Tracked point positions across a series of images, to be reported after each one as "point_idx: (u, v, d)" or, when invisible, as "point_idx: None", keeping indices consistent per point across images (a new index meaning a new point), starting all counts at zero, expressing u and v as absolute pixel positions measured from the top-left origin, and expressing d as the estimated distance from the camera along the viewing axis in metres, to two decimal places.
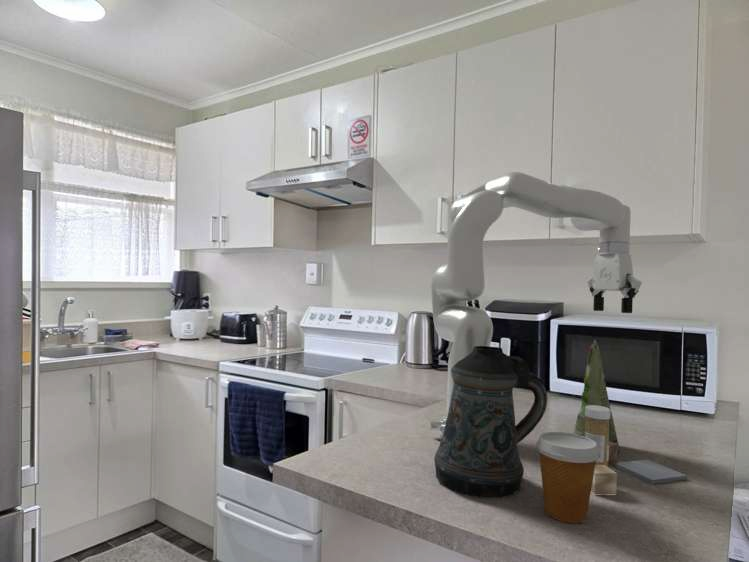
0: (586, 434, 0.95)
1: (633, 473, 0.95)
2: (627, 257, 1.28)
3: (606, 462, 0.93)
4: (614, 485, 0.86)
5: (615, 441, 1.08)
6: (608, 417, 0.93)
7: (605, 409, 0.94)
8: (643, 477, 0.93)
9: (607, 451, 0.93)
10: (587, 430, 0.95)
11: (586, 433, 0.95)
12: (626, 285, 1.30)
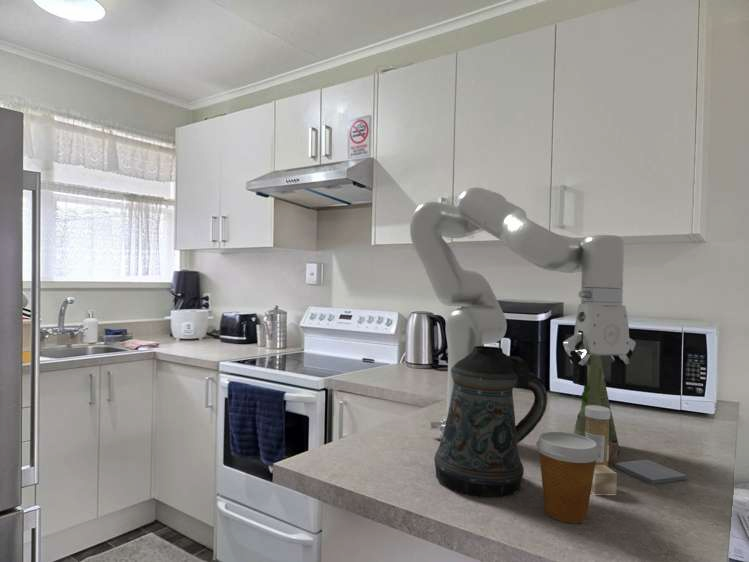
0: (586, 434, 0.95)
1: (633, 473, 0.95)
2: None
3: (606, 462, 0.93)
4: (614, 485, 0.86)
5: (615, 441, 1.08)
6: (608, 417, 0.93)
7: (605, 409, 0.94)
8: (643, 477, 0.93)
9: (607, 451, 0.93)
10: (587, 430, 0.95)
11: (586, 433, 0.95)
12: None
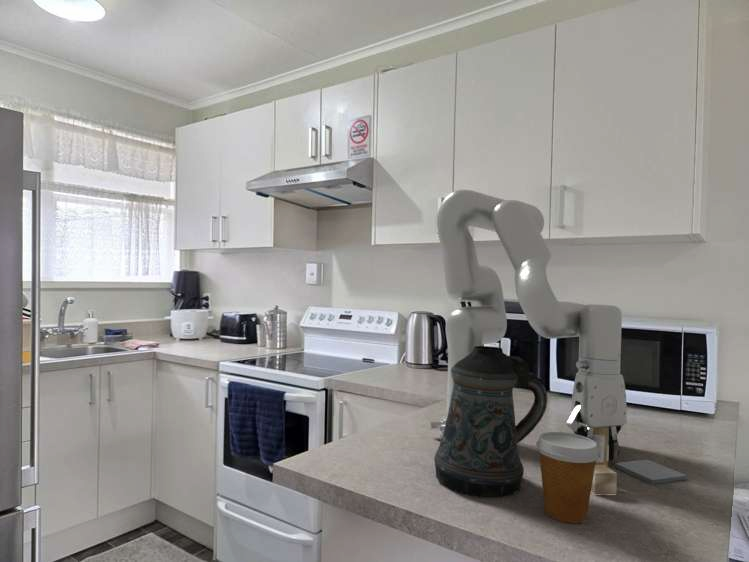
0: None
1: (633, 473, 0.95)
2: None
3: (606, 462, 0.93)
4: (614, 485, 0.86)
5: (615, 441, 1.08)
6: None
7: None
8: (643, 477, 0.93)
9: (607, 451, 0.93)
10: None
11: None
12: None
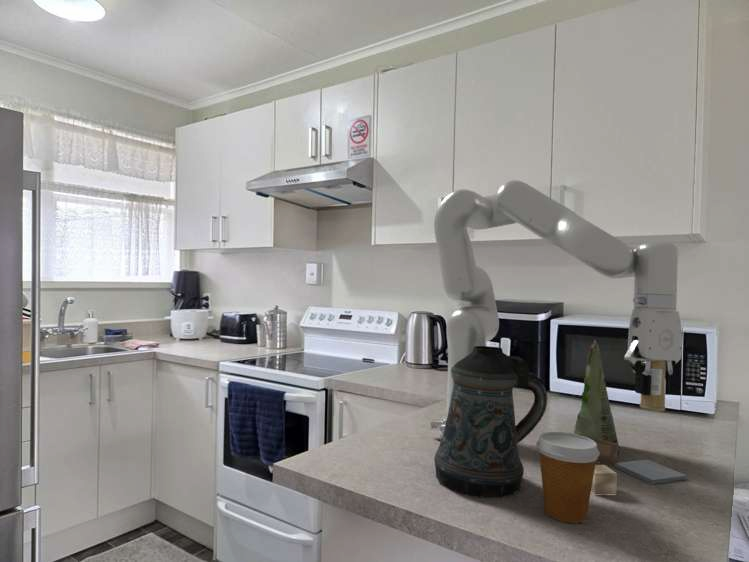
0: None
1: (633, 473, 0.95)
2: None
3: (663, 395, 0.95)
4: (614, 485, 0.86)
5: (615, 441, 1.08)
6: None
7: None
8: (643, 477, 0.93)
9: (664, 384, 0.96)
10: None
11: None
12: None
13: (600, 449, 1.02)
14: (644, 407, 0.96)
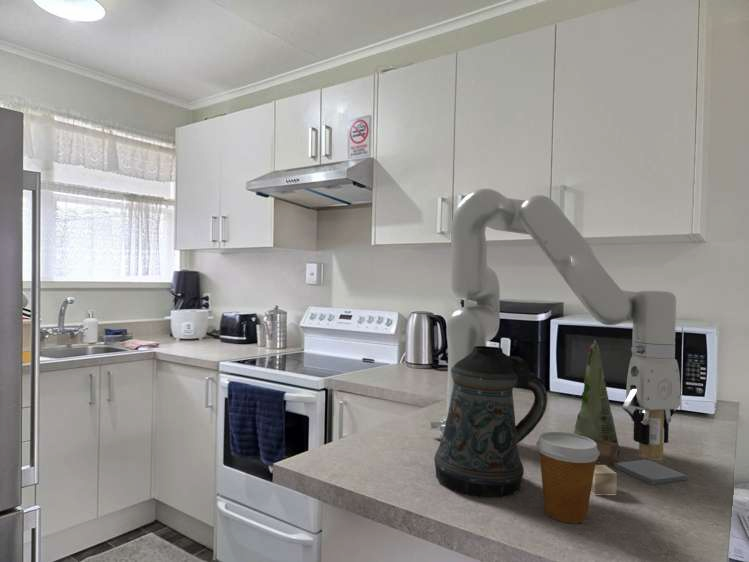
0: None
1: (633, 473, 0.95)
2: None
3: (662, 444, 0.95)
4: (614, 485, 0.86)
5: (615, 441, 1.08)
6: None
7: None
8: (643, 477, 0.93)
9: (663, 434, 0.95)
10: None
11: None
12: None
13: (600, 449, 1.02)
14: (642, 456, 0.96)
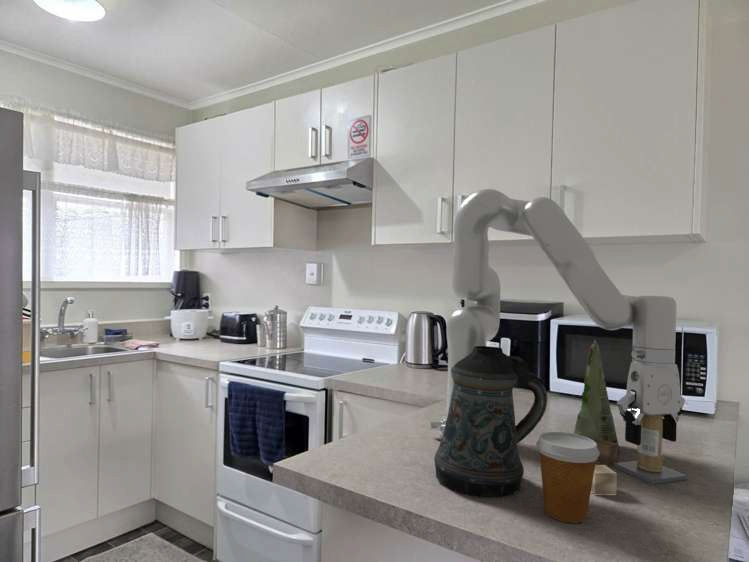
0: None
1: (633, 473, 0.95)
2: None
3: (660, 456, 0.95)
4: (614, 485, 0.86)
5: (615, 441, 1.08)
6: None
7: None
8: (643, 477, 0.93)
9: (661, 445, 0.95)
10: (641, 425, 0.97)
11: None
12: None
13: (600, 449, 1.02)
14: (641, 467, 0.96)
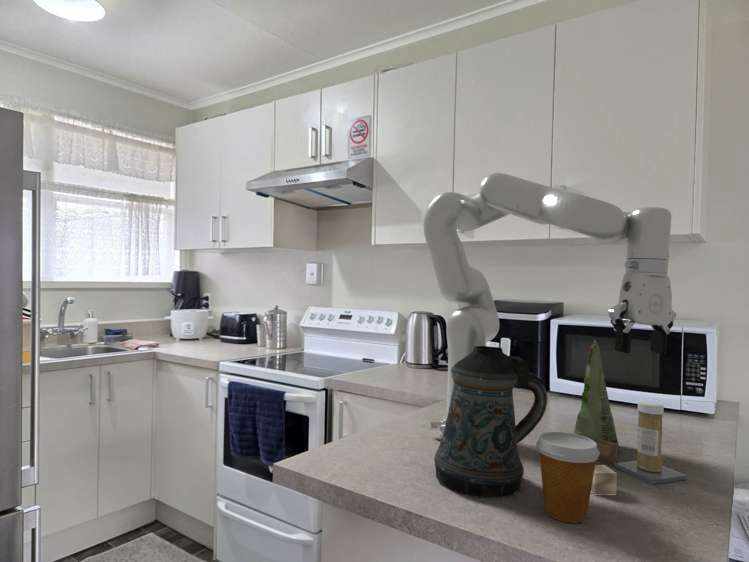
0: (639, 429, 0.97)
1: (633, 473, 0.95)
2: None
3: (660, 456, 0.95)
4: (614, 485, 0.86)
5: (615, 441, 1.08)
6: (662, 412, 0.95)
7: (659, 404, 0.96)
8: (643, 477, 0.93)
9: (661, 445, 0.96)
10: (641, 424, 0.97)
11: (639, 428, 0.97)
12: None
13: (600, 449, 1.02)
14: (641, 467, 0.96)
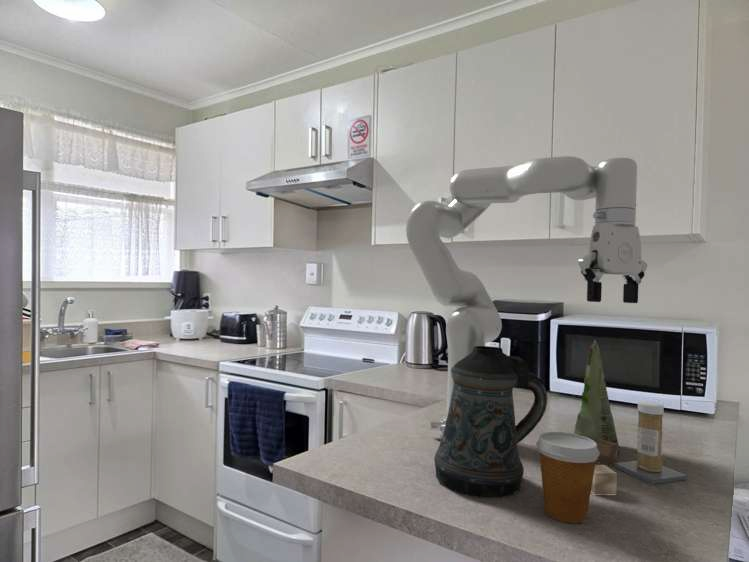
0: (639, 429, 0.97)
1: (633, 473, 0.95)
2: None
3: (660, 456, 0.95)
4: (614, 485, 0.86)
5: (615, 441, 1.08)
6: (662, 412, 0.95)
7: (659, 404, 0.96)
8: (643, 477, 0.93)
9: (661, 445, 0.96)
10: (641, 425, 0.97)
11: (639, 428, 0.97)
12: None
13: (600, 449, 1.02)
14: (641, 467, 0.96)
